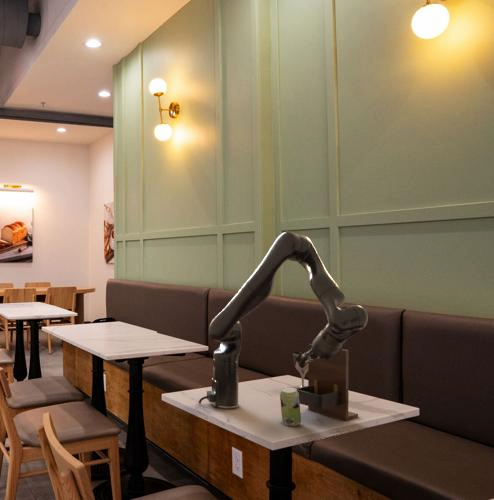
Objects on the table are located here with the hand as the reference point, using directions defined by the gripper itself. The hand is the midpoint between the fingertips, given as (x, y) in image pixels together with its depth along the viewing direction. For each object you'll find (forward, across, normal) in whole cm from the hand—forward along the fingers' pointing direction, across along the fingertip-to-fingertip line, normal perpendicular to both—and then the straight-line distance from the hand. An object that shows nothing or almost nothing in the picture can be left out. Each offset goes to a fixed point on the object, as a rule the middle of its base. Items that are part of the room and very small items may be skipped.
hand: (312, 362), depth 174 cm
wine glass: (+48, -14, -4) cm, 50 cm away
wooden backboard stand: (+17, -3, +14) cm, 22 cm away
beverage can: (+8, +13, +16) cm, 22 cm away
